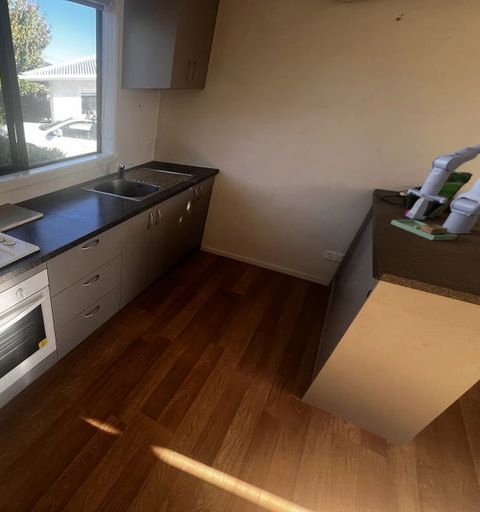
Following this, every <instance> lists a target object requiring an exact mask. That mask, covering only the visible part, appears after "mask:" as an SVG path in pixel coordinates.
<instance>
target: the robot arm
mask: <svg viewBox="0 0 480 512" xmlns="http://www.w3.org/2000/svg"><path fill="white" fill-rule="evenodd" d="M478 155H480V143H479V144H477V145H474V146H464V147H462V148H461V149H458V150H456V151H454V152H452V153H449V154H442V155H439V156H437V157H436V158H435V159H434V160H433V161H431V167H430V169H429V172H430V173H429V175H428V176H427V178H426V180H425V181H424V183H423V184H422V186H421V188H420V190H418V189H415V188H409V189H408V191H407V192H406V193H407V194H406V195H405V199H406V205H405V211H407V210H411V209H412V208H413V206H414V205H415V203H416V202H417V201H418V199H419V198H420V197H424V198H427V199H430V200H434V201H428V205H427V208H426V210H425V212H424V214H423V216H429V215H430V214H431V213H432V212H433V211H434V210H436V209H437V208H438V207H440V206H442V205H444V203H446V202H447V200H448V199H447V198H444V197H441V196H439V195H437V194H438V193H439V191H440V190H441V188H442V186H443V185H444V183H445V181H446V180H447V178H448V177H449V175H450V173H451V172H452V171H456V170H457V169H459V168H460V167H461V166H462V165H463V164H465V163H467V162H470V161H472V160H475V159H476V158H477V157H478ZM449 208H450V211H451V212H450V213H449V214H448V217H447V219H446V220H445V221H444V223H443V224H442V225H441V226H442V227H445V228H448V229H447V232H450V233H453V234H455V235H458V234H472V232H471V230H472V229H473V227H474V226H475V224H476V223H477V221H478V216H480V177H479V178H478V179H477V180H476V182H475V183H474V184H473V186H472V187H471V189H470V190H469V191H466V192H463V193H460V194H458V195H457V197H456V198H454V200H453V199H452V200H451V202H450V206H449Z"/></svg>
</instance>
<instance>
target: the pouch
mask: <svg viewBox="0 0 480 512" xmlns="http://www.w3.org/2000/svg"><path fill="white" fill-rule="evenodd" d="M473 176H474V174H473V173H472V172H466V171H456V170H454V171H452V172H451V173H450V175H449V177H448V178H447V180H446V181H445V183H444V185H443V186H442V188H441V190H440V191H439V193H438V194H437V195H439V196H441V197H444V198H447V199H448V200H447V202H446V203H444V205H442V206H440V207H438V208H437V209H436V210H434V211H433V212H432V213H431V214H430V215H429V216H426V217H425V219H426V218H427V219H433V218H434V217H440V216H441V215H442V213H444V212H445V211H446V209H448V207H449V204H451V202H452V201H453V199H454V197H455V196H456V195H457V193H458V192H459V191H461V189H462V188H463V187H464V186H465V185H466V184H468V183H469V181H470V180H471V179H472V177H473Z"/></svg>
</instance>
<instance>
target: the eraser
mask: <svg viewBox="0 0 480 512" xmlns="http://www.w3.org/2000/svg"><path fill="white" fill-rule="evenodd" d="M442 226H443V225H439V224H428V225H422V227H421V229H420V230H421V231H424V232H426V233H429V234H431V235H434V236H438V235H444V234H445V232H446V231H447V229H448V228H445V227H442ZM447 232H448V231H447Z"/></svg>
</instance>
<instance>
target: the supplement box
mask: <svg viewBox="0 0 480 512" xmlns="http://www.w3.org/2000/svg"><path fill="white" fill-rule="evenodd" d="M428 201H434V200H430V199H427V198H424V197H420V198H419V199H418V201H417V202H416V203H415V205H414V206H413V208H412V209H411V210H406V212H405V214H404V217H406V218H407V219H409V220H412V219H414V220H417V221H424V220H425V219H426V216H423V214H424V212H425V210H426V208H427V205H428Z"/></svg>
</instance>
